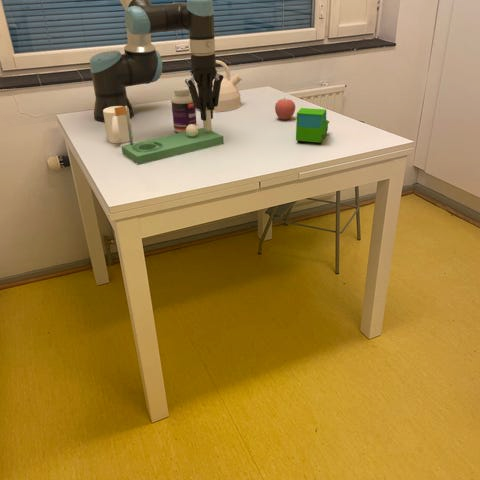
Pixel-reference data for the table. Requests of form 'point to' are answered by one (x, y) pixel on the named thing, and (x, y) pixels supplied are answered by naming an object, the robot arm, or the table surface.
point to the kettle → (227, 92)
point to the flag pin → (124, 111)
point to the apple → (285, 108)
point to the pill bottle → (183, 109)
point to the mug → (116, 126)
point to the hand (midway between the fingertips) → (207, 129)
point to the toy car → (311, 125)
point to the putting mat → (170, 146)
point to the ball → (191, 130)
